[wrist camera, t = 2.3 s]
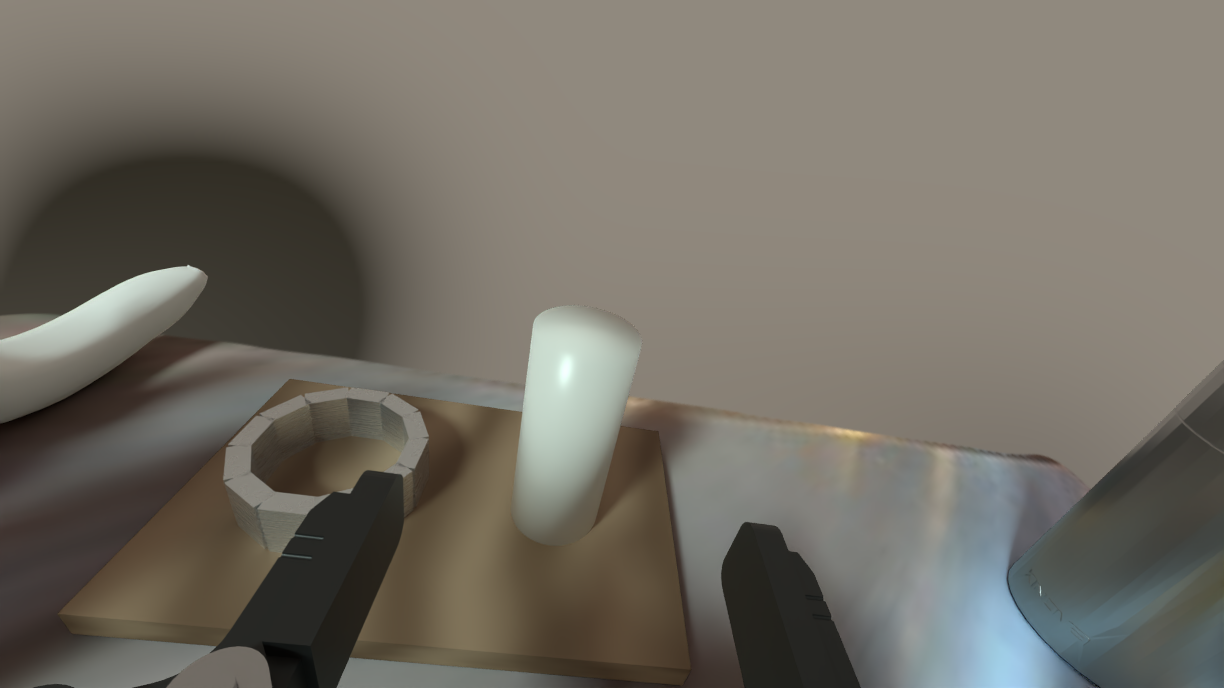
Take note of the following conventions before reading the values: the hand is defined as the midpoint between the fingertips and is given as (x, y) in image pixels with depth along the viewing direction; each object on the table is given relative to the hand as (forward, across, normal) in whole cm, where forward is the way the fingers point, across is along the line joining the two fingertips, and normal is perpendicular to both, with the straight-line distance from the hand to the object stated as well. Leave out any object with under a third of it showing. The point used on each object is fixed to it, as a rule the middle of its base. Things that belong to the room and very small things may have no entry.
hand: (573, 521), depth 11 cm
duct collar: (+11, +12, +13) cm, 21 cm away
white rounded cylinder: (+12, 0, +13) cm, 17 cm away
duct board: (+12, +6, +15) cm, 19 cm away
